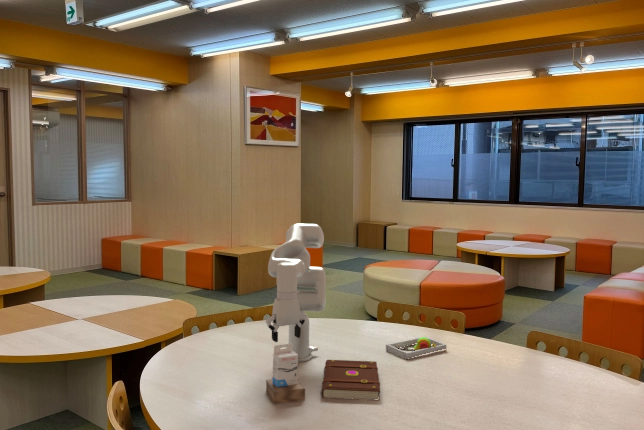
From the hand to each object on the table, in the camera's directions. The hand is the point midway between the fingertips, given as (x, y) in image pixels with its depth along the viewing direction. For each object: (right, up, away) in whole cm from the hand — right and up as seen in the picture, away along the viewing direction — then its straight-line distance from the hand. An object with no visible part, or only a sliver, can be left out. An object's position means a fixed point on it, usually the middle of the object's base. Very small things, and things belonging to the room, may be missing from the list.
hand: (286, 339), depth 202 cm
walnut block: (0, -23, +1) cm, 23 cm away
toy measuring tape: (+60, -19, +57) cm, 85 cm away
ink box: (-1, -18, +1) cm, 18 cm away
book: (+25, -22, +15) cm, 37 cm away
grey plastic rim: (+60, -19, +57) cm, 85 cm away
